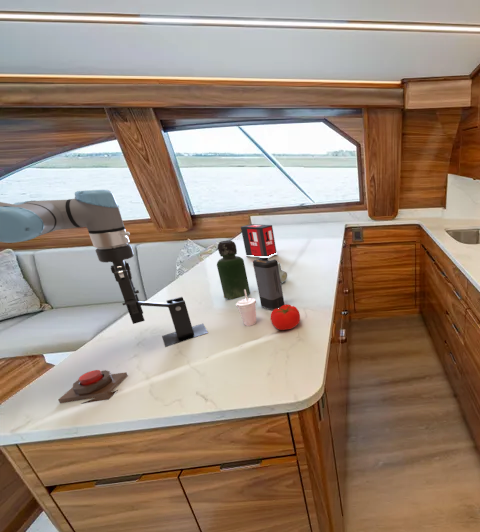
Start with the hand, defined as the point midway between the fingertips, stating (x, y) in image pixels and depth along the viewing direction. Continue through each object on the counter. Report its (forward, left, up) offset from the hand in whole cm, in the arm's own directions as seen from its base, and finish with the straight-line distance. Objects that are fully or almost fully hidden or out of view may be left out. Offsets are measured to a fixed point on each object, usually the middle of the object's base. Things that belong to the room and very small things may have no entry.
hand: (138, 317), depth 92 cm
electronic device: (+34, +23, -11) cm, 42 cm away
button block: (-2, -19, -11) cm, 22 cm away
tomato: (+42, +5, -11) cm, 44 cm away
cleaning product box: (+13, +104, -11) cm, 105 cm away
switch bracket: (+9, +5, -11) cm, 15 cm away
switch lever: (+4, +2, +2) cm, 5 cm away
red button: (-2, -19, -8) cm, 21 cm away
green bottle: (+16, +39, -11) cm, 44 cm away
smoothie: (+29, +8, -11) cm, 32 cm away
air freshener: (+31, +51, -11) cm, 61 cm away
